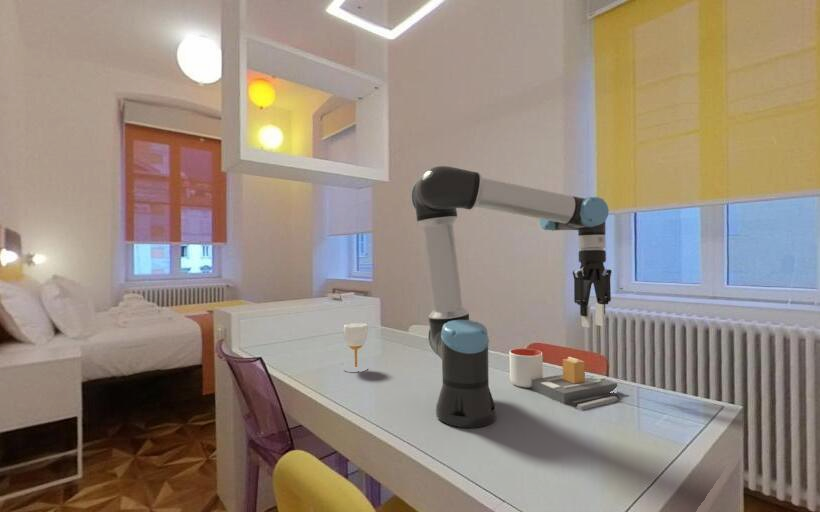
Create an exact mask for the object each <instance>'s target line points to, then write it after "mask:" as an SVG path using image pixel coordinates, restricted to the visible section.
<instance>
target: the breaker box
mask: <svg viewBox="0 0 820 512" xmlns="http://www.w3.org/2000/svg"><path fill="white" fill-rule="evenodd" d="M592 374H593V373H592ZM593 375H595V374H593ZM597 376H598V377H597ZM597 376H596V377H592V378H585V382H581V383H576V384H574V383H571V382H568V381H566V380H563V374H557V375H552V376H546V377H543V378H539V379H533V380H532V388H531V390H533V391H535V392H537V393H538V394H540V395H543V396H545V397H546V398H547V397H548V398H549V399H552V400H553V401H556V402H558V403H560V404H562V405H567V404H571V401H573V400H578V399H583V398H588V397H593V396H598V395H603V394H608V393H610V392H611V391H613V390H614V389H615V388H616V387H617V388H618V383H617V382H615V381H612V380H609V379H606V377H603V376H600V375H597ZM593 378H594V379H593ZM605 379H606V380H605Z"/></svg>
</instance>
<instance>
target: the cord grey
mask: <svg viewBox="0 0 820 512" xmlns="http://www.w3.org/2000/svg"><path fill="white" fill-rule="evenodd" d="M615 402H618V398H617V397H615V396H611V397H606V398H602V399H598V400H594V401H590V402H586V403H582V404H578V405H577V407H576V408H577V409H578V410H579V411H583V410H586V409H591V408H594V407H598V406H602V405H607V404H611V403H615Z"/></svg>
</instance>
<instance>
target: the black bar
mask: <svg viewBox="0 0 820 512" xmlns="http://www.w3.org/2000/svg"><path fill="white" fill-rule="evenodd" d="M611 396H615V397H617V399H619V393H618V392H617V393H614V392H613V393H608V394H603V395H598V396H593V397H588V398H583V399H578V400H573V401H571V403H570V406H571V407H573V408H577V405H578V404H582V403H586V402H590V401H594V400H598V399H602V398H606V397H611Z"/></svg>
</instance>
